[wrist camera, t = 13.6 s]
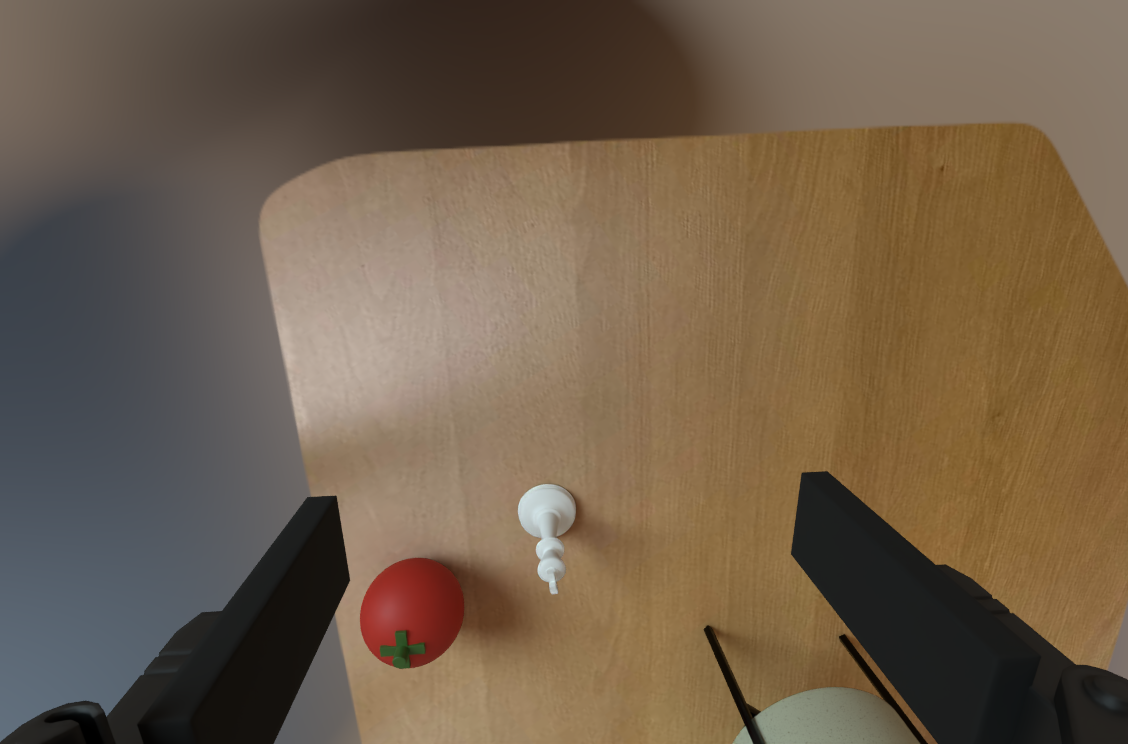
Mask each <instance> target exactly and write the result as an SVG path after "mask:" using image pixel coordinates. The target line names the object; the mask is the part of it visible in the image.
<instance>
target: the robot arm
mask: <svg viewBox="0 0 1128 744" xmlns="http://www.w3.org/2000/svg"><path fill="white" fill-rule="evenodd" d="M791 555H792V556H793V557H794V558H795V560H796V561H797V562H798V564H799V565H800V566H801V568H802V569H803V570H804V571H805V573H806V574H807V575H808V577H809V578H810V579H811V580H812V582H813V583H814V584H815V586H816V587H817V588H818V589H819V591H820V592H821V593H822V595H823V596H824V597H825V598H826V600H827V601H828V602H829V604H830V605H831V606H832V608H833V609H834V610H835V611H836V613H837V614H838V615H839V617H840V618H841V619H842V620H843V622H844V623H845V624H846V626H847V627H848V628H849V629H850V631H851V632H852V633H853V635H854V636H855V637H856V638H857V640H858V641H859V642H860V644H861V645H862V646H863V647H864V649H865V650H866V651H867V653H868V654H869V655H870V657H871V658H872V659H873V660H874V662H875V663H876V664H877V666H878V667H879V668H880V669H881V671H882V672H883V673H884V675H885V676H886V677H887V678H888V680H889V681H890V682H891V684H892V685H893V686H894V687H895V689H896V690H897V691H898V693H899V694H900V695H901V697H902V698H903V699H904V700H905V702H906V703H907V704H908V706H909V707H910V708H911V709H912V711H913V712H914V713H915V715H916V716H917V717H918V718H919V720H920V721H921V722H922V724H923V725H924V726H925V727H926V729H927V730H928V731H929V733H930V734H931V735H932V736H933V738H934V739H935V740H936V742H937V743H938V744H1128V680H1127V679H1125V678H1123V677H1120V676H1118V675H1116V674H1113V673H1111V672H1109V671H1107V670H1104V669H1100V668H1096V667H1092V666H1088V665H1076V664H1074V663H1073V662H1072V661H1071V660H1070V659H1068V658H1067V657H1066V656H1065V655H1064V654H1062V653H1061V652H1060V651H1059V650H1057V649H1056V648H1055V647H1054V646H1053V645H1051V644H1050V643H1049V642H1048V641H1047V640H1045V639H1044V638H1043V637H1042V636H1041V635H1039V634H1038V633H1037V632H1036V631H1034V630H1033V629H1032V628H1031V627H1030V626H1028V625H1027V624H1026V623H1025V622H1024V621H1022V620H1021V619H1020V618H1019V617H1017V616H1016V615H1015V614H1014V613H1010V612H1009V609H1008V608H1007V607H1005V606H1004V605H1003V604H1002V603H1000V602H999V601H998V600H997V599H993V598H992V595H991V594H990V593H988V592H987V591H986V590H985V589H984V588H982V587H981V586H980V585H979V584H977V583H976V582H975V581H974V580H973V579H971V578H970V577H968V576H966V575H964V574H962V573H960V572H958V571H957V570H955V569H953V568H951V567H949V566H947V565H946V564H944V565H935V564H934V563H933V562H932V561H930V560H929V559H928V558H927V557H926V556H925V555H924V554H922V553H921V552H920V551H919V550H918V549H917V548H915V547H914V546H913V545H912V544H911V543H910V542H908V541H907V540H906V539H905V538H904V537H903V536H902V535H900V534H899V533H898V532H897V531H896V530H895V529H893V528H892V527H891V526H890V525H889V524H888V523H886V522H885V521H884V520H883V519H882V518H881V517H880V516H878V515H877V514H876V513H875V512H874V511H873V510H871V509H870V508H869V507H868V506H867V505H866V504H864V503H863V502H862V501H861V500H860V499H859V498H858V497H856V496H855V495H854V494H853V493H852V492H851V491H849V490H848V489H847V488H846V487H845V486H844V485H842V484H841V483H840V482H839V481H838V480H837V479H836V478H834V477H833V476H832V475H831V474H830V473H829V472H827V471H825V472H805V473H802V475H801V482H800V490H799V497H798V505H797V512H796V520H795V527H794V535H793V543H792V550H791ZM349 582H350V577H349V570H348V564H347V558H346V552H345V546H344V539H343V533H342V527H341V521H340V515H339V508H338V502H337V496H321V497H307V499H306V500H305V501H304V503H303V504H302V505H301V507H300V508H299V509H298V511H297V512H296V514H295V515H294V516H293V517H292V519H291V520H290V521H289V523H288V524H287V525H286V527H285V528H284V529H283V531H282V532H281V533H280V535H279V536H278V537H277V539H276V540H275V541H274V543H273V544H272V545H271V547H270V548H269V549H268V551H267V552H266V553H265V555H264V556H263V557H262V559H261V560H260V562H259V563H258V564H257V565H256V567H255V568H254V569H253V571H252V572H251V574H250V575H249V576H248V577H247V579H246V580H245V581H244V583H243V584H242V585H241V586H240V588H239V589H238V590H237V592H236V593H235V595H234V596H233V597H232V599H231V600H230V601H229V602H228V604H227V605H226V607H225V608H224V609H223V611H217V612H202V613H201V614H199V615H198V616H197V617H195V618H194V619H193V620H191V621H190V622H189V623H188V624H186V625H185V626H183V627H182V628H181V629H180V630H178V631H177V632H176V633H175V634H174V635H173V637H172V638H171V639H170V640H169V642H168V643H167V644H166V645H165V646H164V648H163V649H162V650H161V651H160V653H159V656H158V657H156V658H155V659H154V660H153V661H152V662H151V664H150V665H149V666H148V667H147V668H146V670H145V671H144V675H141V676H140V677H139V678H138V679H137V681H136V682H135V683H134V684H133V685H132V687H131V688H130V689H129V690H128V692H127V693H126V694H125V695H124V696H123V698H122V699H121V700H120V701H119V702H118V704H117V705H116V706H115V707H114V708H113V710H112V711H111V712H110V713H109V715H108V716H107V717H106V715H105V712H104V710H103V709H102V708H101V706H100V705H99V704H98V703H93V702H89V701H81V702H74V703H68V704H65V705H62V706H59V707H57V708H54V709H51V710H49V711H46V712H44V713H42V714H40V715H39V716H37V717H35V718H33V719H31V720H30V721H28V722H26V723H24V724H23V725H21V726H20V727H19V728H17V729H16V730H15V731H14V732H12V733H11V734H10V735H8V736H7V737H6V738H5V739H3V740H2V741H1V742H0V744H274V741H275V739H276V738H277V735H278V733H279V731H280V729H281V727H282V725H283V723H284V720H285V718H286V716H287V714H288V712H289V710H290V708H291V705H292V703H293V701H294V699H295V697H296V695H297V693H298V690H299V688H300V686H301V684H302V682H303V680H304V678H305V676H306V673H307V671H308V669H309V667H310V665H311V663H312V661H313V658H314V656H315V654H316V652H317V650H318V648H319V645H320V643H321V641H322V639H323V637H324V635H325V633H326V631H327V629H328V626H329V624H330V622H331V620H332V618H333V616H334V614H335V611H336V609H337V607H338V605H339V603H340V601H341V599H342V597H343V594H344V592H345V590H346V588H347V586H348V584H349Z"/></svg>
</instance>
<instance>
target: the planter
mask: <svg viewBox="0 0 1128 744" xmlns="http://www.w3.org/2000/svg"><path fill="white" fill-rule="evenodd" d="M704 631H705V634H706V636H707V638H708V641H709V643H710V645H711V648H712V650H713V652H714V655H715V657H716V659H717V661H718V664H719V666H720V668H721V671H722V673H723V675H724V678H725V680H726V682H727V685H728V687H729V689H730V692H731V694H732V696H733V698H734V701H735V703H736V705H737V708H738V710H739V712H740V715H741V717H742V719H743V722H744V724H745V726H744V728H743V729H742V730H741V732H740V733H739V734H738V735H737V737H736V738H735V740H734V742H733V743H732V744H928V743H927V742H926V741H925V739H924V738H923V737H922V735H921V734H920V733H919V731H918V730H917V729H916V728H915V726H914V725H913V724H912V722H911V721H910V720H909V718H908V717H907V716H906V714H905V713H904V712H903V710H902V709H901V708H900V706H899V705H898V704H897V703H896V701H895V700H894V699H893V697H892V696H891V695H890V693H889V692H888V691H887V689H886V688H885V687H884V685H883V684H882V683H881V681H880V680H879V679H878V678H877V676H876V675H875V674H874V672H873V671H872V670H871V668H870V667H869V666H868V664H867V663H866V662H865V660H864V659H863V658H862V656H861V655H860V654H859V653H858V651H857V650H856V649H855V647H854V646H853V645H852V643H851V642H850V641H849V639H848V638H847V637H846V635H845V634H844V635H841V636H839V639H840V641H841V643H842V644H843V645H844V647H845V648H846V649H847V651H848V652H849V654H850V655H851V656H852V658H853V659H854V660H855V662H856V663H857V664H858V666H859V667H860V668H861V670H862V671H863V673H864V674H865V675H866V677H867V678H868V679H869V681H870V682H871V683H872V685H873V686H874V687H875V689H876V690H877V691H878V693H879V694H880V696H881V697H882V698H883V700H882V699H881V698H879V697H877V696H875V695H873V694H871V693H868V692H865V691H862V690H858V689H853V688H845V687H827V688H818V689H812V690H808V691H804V692H801V693H797V694H794V695H792V696H789V697H787V698H784V699H782V700H780V701H778V702H776V703H774V704H773V705H771V706H769V707H768V708H766V709H765V710H763V711H762V712H761V711H759V710H757V709H756V708H754V707H752V706H751V705H749V704H747V703H746V701H745V699H744V697H743V695H742V692H741V690H740V688H739V686H738V684H737V681H736V679H735V677H734V675H733V673H732V670H731V668H730V666H729V664H728V662H727V659H726V657H725V655H724V653H723V651H722V648H721V646H720V644H719V642H718V640H717V637H716V635H715V633H714V631H713V629H712V628H711V627H710V626H707V627H706V628H704Z"/></svg>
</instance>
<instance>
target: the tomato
mask: <svg viewBox="0 0 1128 744" xmlns="http://www.w3.org/2000/svg"><path fill="white" fill-rule="evenodd" d="M463 616H464V598H463V593H462V590H461V587H460V584H459V582H458V580H457V579H456V578H455V576H454V575H453V573H452V572H451V571H450V570H449V569H447V568H446V567H445V566H443V565H442V564H440V563H438V562H436V561H433V560H430V559H426V558H411V559H406V560H402V561H399V562H397V563H395V564H393V565H391V566H390V567H388V568H387V569H385V570H384V571H383V572H382V573H381V574H379V575H378V576H377V577H376V579H375V580H374V581H373V582H372V584H371V585H370V587H369V588H368V590H367V592H366V594H365V597H364V599H363V603H362V606H361V613H360V626H361V632H362V636H363V639H364V641H365V643H366V645H367V646H368V648H369V650H370V651H371V652H372V653H373V654H374V655H375V656H376V657H377V658H378V659H379V660H381V661H382V662H384V663H386V664H388V665H390V666H394V667H396V668H399V669H403V668H415V667H419V666H422V665H425V664H428V663H430V662H432V661H433V660H435V659H436V658H438V657H439V656H441V655H442V654H443V653H444V652H445V651H446V650H447V649H448V648H449V647H450V646H451V644H452V643H453V641H454V640H455V638H456V637H457V635H458V633H459V630H460V628H461V625H462V621H463Z"/></svg>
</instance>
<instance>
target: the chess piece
mask: <svg viewBox="0 0 1128 744" xmlns="http://www.w3.org/2000/svg"><path fill="white" fill-rule="evenodd" d="M518 515H519V519H520V522H521V525H522V526H523V528H524V529H525V530H526V531H527V532H528V533H530V534H531V535H533V536H535V537H539V538H542V540H541V541H540V542H539V543H538V544H537V547H536V553H537V555H538V557H539V558H540V559H541V561H540V563H539V566H538V575H539V577H540V578H541V579H542V580H544V581H546V582H549V588H550V592H551V593H552V594H557V593H558V587H557V583H556V582H557V581H559V580H561V579H562V578H563V577H564V575H565V573H566V566H565V564H564V562H563V560H562V559H561V557H562V556H563V553H564V545H563V543H562V542H561V541H560V540H559V539H557V536H560V535H562V534H563V533H565V532H566V531H567V530H568V529H569V528H570V527H571V526H572V524H573V522H574V520H575V515H576V504H575V501H574V499H573V497H572V495H571V494H570V493H569V492H568V491H567V490H566V489H564V488H562V487H560V486H557V485H553V484H543V485H539V486H536V487H534V488H532V489H530V490H529V491H527V492H526V493H525V494H524V496H523V497H522V498H521V500H520V503H519V506H518Z"/></svg>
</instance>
